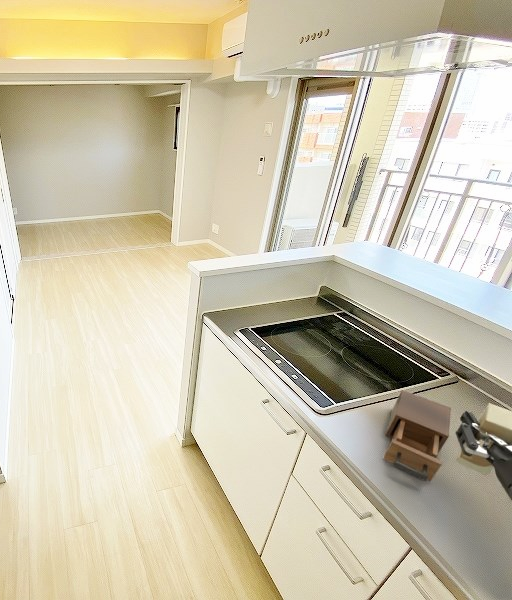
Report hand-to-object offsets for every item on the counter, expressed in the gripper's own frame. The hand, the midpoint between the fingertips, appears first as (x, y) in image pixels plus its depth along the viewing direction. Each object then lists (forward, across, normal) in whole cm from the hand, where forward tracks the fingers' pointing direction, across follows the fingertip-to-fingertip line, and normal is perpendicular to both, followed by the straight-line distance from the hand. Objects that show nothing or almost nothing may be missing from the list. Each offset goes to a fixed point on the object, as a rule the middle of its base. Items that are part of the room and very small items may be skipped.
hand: (488, 419), depth 64 cm
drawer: (+3, +6, +19) cm, 20 cm away
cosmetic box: (-2, 0, +9) cm, 10 cm away
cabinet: (+14, +2, +20) cm, 24 cm away
